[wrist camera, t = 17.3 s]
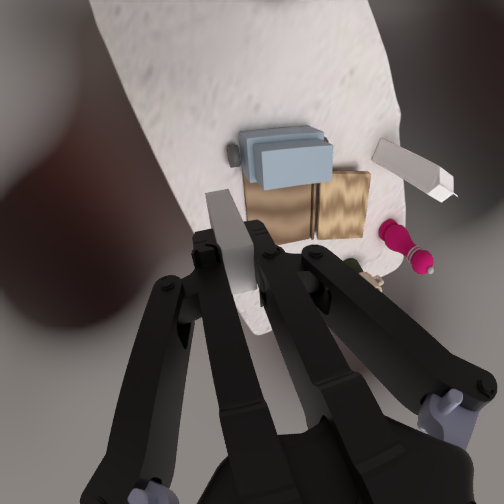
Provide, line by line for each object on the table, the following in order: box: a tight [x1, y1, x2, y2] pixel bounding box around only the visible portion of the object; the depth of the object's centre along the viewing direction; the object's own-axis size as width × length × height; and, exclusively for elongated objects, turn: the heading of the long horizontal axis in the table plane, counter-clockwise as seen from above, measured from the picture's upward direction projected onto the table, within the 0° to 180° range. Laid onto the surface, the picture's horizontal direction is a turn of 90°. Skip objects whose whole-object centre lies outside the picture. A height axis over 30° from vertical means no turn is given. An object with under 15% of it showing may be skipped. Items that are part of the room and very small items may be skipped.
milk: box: [372, 139, 458, 202], centre depth 48 cm, size 6×6×22 cm
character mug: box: [345, 259, 384, 292], centre depth 69 cm, size 11×7×13 cm, turn 114°
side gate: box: [317, 171, 371, 240], centre depth 58 cm, size 16×2×11 cm
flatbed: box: [243, 173, 316, 245], centre depth 58 cm, size 18×15×2 cm
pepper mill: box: [379, 220, 434, 274], centre depth 63 cm, size 7×7×20 cm
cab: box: [227, 126, 333, 190], centre depth 46 cm, size 8×19×12 cm, turn 95°
